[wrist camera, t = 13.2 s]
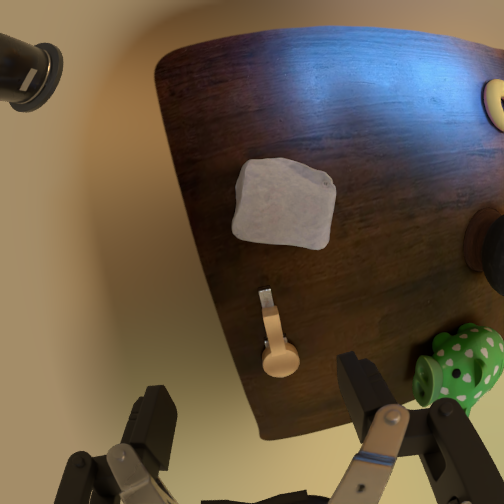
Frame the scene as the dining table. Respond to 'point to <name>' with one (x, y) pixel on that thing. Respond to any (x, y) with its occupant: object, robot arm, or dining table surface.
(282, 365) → the wooden round paddle
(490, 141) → the dining table surface
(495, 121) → the donut
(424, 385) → the piggy bank
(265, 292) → the fork
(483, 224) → the black ball on stand
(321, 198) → the stone block
